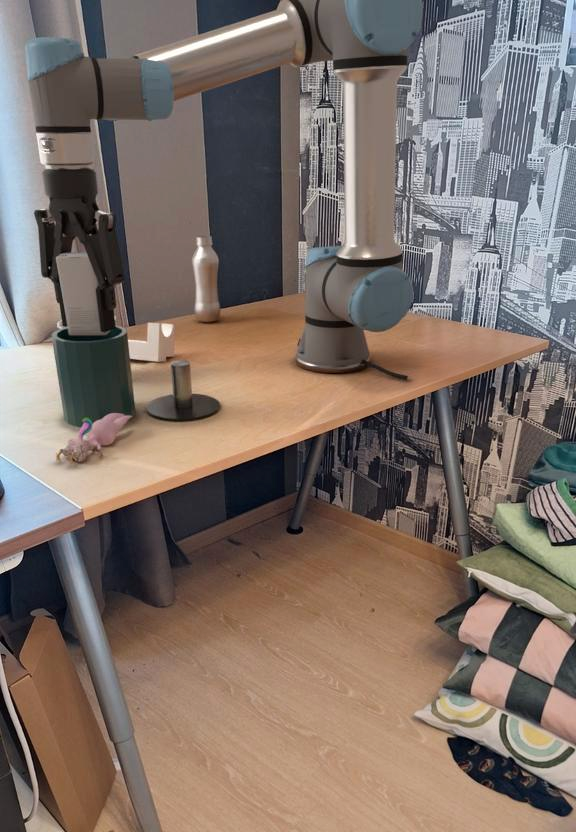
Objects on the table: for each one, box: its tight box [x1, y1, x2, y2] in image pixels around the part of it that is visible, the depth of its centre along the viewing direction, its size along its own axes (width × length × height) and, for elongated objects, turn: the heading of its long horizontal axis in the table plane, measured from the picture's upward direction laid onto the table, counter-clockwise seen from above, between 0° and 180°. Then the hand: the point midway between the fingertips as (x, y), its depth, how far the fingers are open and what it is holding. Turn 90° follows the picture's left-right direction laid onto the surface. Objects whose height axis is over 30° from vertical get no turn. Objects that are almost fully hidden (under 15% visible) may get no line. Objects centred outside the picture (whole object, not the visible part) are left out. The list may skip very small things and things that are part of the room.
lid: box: [145, 359, 221, 422], centre depth 122 cm, size 13×13×9 cm
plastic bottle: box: [191, 235, 222, 323], centre depth 175 cm, size 6×7×20 cm
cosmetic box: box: [56, 251, 111, 336], centre depth 112 cm, size 6×4×12 cm
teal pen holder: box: [51, 324, 137, 428], centre depth 118 cm, size 12×12×14 cm
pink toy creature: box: [55, 413, 133, 468], centre depth 109 cm, size 6×6×15 cm
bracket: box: [128, 322, 176, 363], centre depth 151 cm, size 13×7×8 cm, turn 72°
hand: (89, 327), depth 114 cm, fingers closed on cosmetic box, 7 cm apart
